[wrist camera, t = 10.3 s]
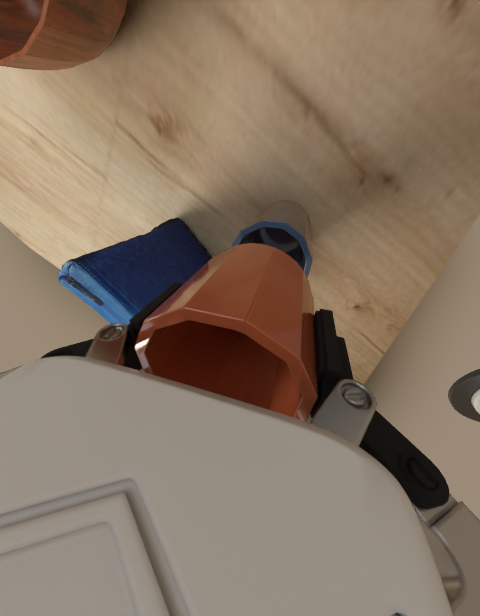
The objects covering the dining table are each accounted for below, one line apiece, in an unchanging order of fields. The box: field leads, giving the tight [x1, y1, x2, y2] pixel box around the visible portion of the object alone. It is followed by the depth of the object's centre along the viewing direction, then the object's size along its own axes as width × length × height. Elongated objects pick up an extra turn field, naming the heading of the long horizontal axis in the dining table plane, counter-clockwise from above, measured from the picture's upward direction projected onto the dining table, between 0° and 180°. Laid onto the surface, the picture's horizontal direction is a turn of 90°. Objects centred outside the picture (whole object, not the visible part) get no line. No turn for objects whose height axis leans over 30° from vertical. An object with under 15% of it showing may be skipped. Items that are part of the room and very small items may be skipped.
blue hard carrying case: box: [58, 218, 212, 325], centre depth 27 cm, size 14×5×20 cm, turn 39°
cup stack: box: [231, 201, 312, 278], centre depth 23 cm, size 7×7×14 cm
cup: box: [134, 243, 318, 421], centre depth 11 cm, size 7×7×7 cm
